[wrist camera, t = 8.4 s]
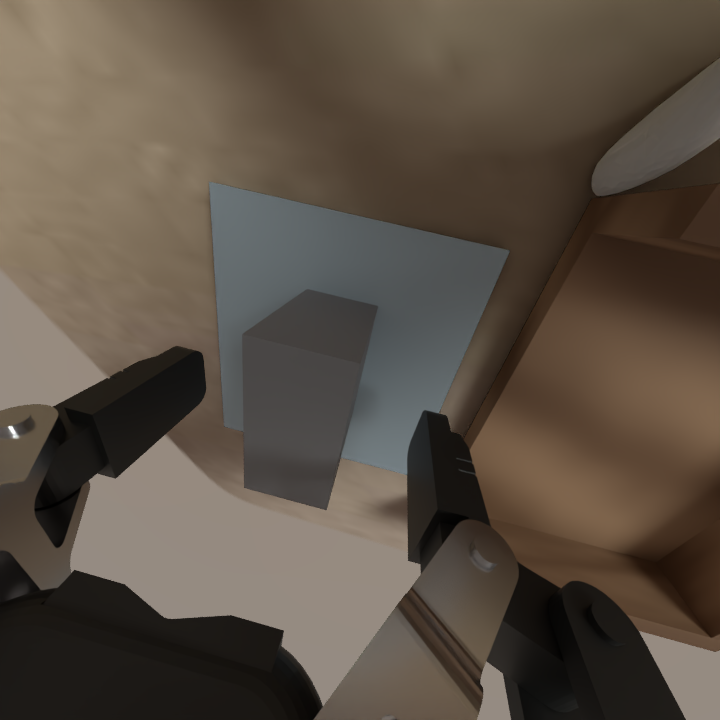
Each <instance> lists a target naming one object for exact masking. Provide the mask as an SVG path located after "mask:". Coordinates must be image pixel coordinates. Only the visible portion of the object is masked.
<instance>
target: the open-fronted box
mask: <svg viewBox="0 0 720 720" xmlns="http://www.w3.org/2000/svg"><path fill="white" fill-rule="evenodd" d="M463 440H464V442H465V443H466V444H467V446H468V447H469V450H470V454H471V457H472V461H473V462H472V464H474V468H475V472H476V476H477V479H478V482H479V486H480V489H481V493H482V496H483V500H484V503H485V507H486V510H487V514H488V518H489V521H490V524H491V527H492V528H493V529H494V530H495V531H497V532H498V533H499V534H500V535H501V536H502V537H503V539H504V540H505V541H506V542H507V544H508V545H509V546H510V548H511V550H512V551H513V553H514V556H515V558H516V560H517V561H518V562H519V563H520V564H522V565H523V566H525V567H526V568H528V569H530V570H531V571H533V572H535V573H536V574H538V575H540V576H541V577H543V578H545V579H546V580H548V581H550V582H551V583H553V584H555V585H556V586H558V587H560V588H562V587H563V586H564V585H566V584H567V583H568V582H570V581H582V582H585V583H588V584H590V585H592V586H594V587H596V588H597V589H599V590H600V591H602V592H603V593H605V594H606V595H607V596H608V597H609V598H611V599H612V600H613V601H614V602H615V603H616V604H617V605H618V606H619V607H620V608H621V609H622V610H623V611H624V612H625V613H626V615H627V616H628V617H629V618H630V620H631V621H632V622H633V624H634V625H635V627H636V628H637V630H638V631H642V632H646V633H649V634H653V635H657V636H660V637H664V638H667V639H671V640H675V641H678V642H682V643H685V644H689V645H692V646H696V647H700V648H703V649H707V650H711V651H714V652H716V651H719V650H720V183H717V184H709V185H701V186H692V187H684V188H675V189H667V190H658V191H650V192H641V193H633V194H624V195H616V196H608V197H599V198H592V199H591V201H590V203H589V205H588V207H587V209H586V211H585V213H584V214H583V216H582V218H581V220H580V222H579V224H578V226H577V228H576V229H575V231H574V233H573V235H572V237H571V239H570V241H569V243H568V244H567V246H566V248H565V250H564V252H563V254H562V256H561V258H560V259H559V261H558V263H557V265H556V267H555V269H554V271H553V273H552V274H551V276H550V278H549V280H548V282H547V284H546V286H545V288H544V289H543V291H542V293H541V295H540V297H539V299H538V301H537V303H536V304H535V306H534V308H533V310H532V312H531V314H530V316H529V318H528V319H527V321H526V323H525V325H524V327H523V329H522V331H521V333H520V334H519V336H518V338H517V340H516V342H515V344H514V346H513V348H512V349H511V351H510V353H509V355H508V357H507V359H506V361H505V363H504V364H503V366H502V368H501V370H500V372H499V374H498V376H497V378H496V379H495V381H494V383H493V385H492V387H491V389H490V391H489V393H488V394H487V396H486V398H485V400H484V402H483V404H482V406H481V408H480V409H479V411H478V413H477V415H476V417H475V419H474V421H473V423H472V424H471V426H470V428H469V430H468V432H467V434H466V436H465V438H464V439H463Z"/></svg>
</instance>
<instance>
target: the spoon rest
mask: <svg viewBox="0 0 720 720" xmlns="http://www.w3.org/2000/svg"><path fill="white" fill-rule="evenodd" d="M719 138H720V58H719V59H717V60H716V61H715V62H713V63H712V64H711V65H710V66H708V67H707V68H706V69H704V70H703V71H702V72H701V73H699V74H698V75H697V76H696V77H694V78H693V79H692V80H691V81H689V82H688V83H687V84H686V85H684V86H683V87H682V88H681V89H679V90H678V91H677V92H676V93H674V94H673V95H672V96H671V97H669V98H668V99H667V100H665V101H664V102H663V103H662V104H660V105H659V106H658V107H657V108H655V109H654V110H653V111H652V112H651V113H649V114H648V115H647V116H646V117H645V118H644V119H642V120H641V121H640V122H639V123H638V124H637V125H636V126H634V127H633V128H632V129H631V130H630V131H629V132H627V133H626V134H625V135H624V136H623V137H622V138H621V139H619V140H618V141H617V142H616V143H615V144H614V145H613V146H612V147H611V148H610V149H609V150H608V152H607V153H606V154H605V155H604V156H603V157H602V158H601V160H600V161H599V162H598V163H597V165H596V168H595V170H594V173H593V175H592V183H591V185H592V191H593V192H594V193H595V194H596V196H607V195H611V194H615V193H619V192H622V191H626V190H629V189H632V188H634V187H637V186H639V185H641V184H644V183H646V182H648V181H651V180H653V179H655V178H657V177H659V176H661V175H663V174H665V173H667V172H669V171H671V170H673V169H675V168H677V167H678V166H680V165H681V164H683V163H684V162H686V161H687V160H689V159H691V158H692V157H693V156H695V155H696V154H698V153H699V152H701V151H702V150H704V149H705V148H707V147H708V146H710V145H711V144H712V143H714V142H715V141H717V140H718V139H719Z"/></svg>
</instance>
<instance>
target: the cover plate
mask: <svg viewBox="0 0 720 720" xmlns="http://www.w3.org/2000/svg"><path fill="white" fill-rule="evenodd" d="M209 189H210V206H211V222H212V238H213V254H214V270H215V287H216V303H217V319H218V335H219V352H220V368H221V384H222V400H223V417H224V427H227V428H231V429H235V430H238V431H242V432H244V488H247V489H250V490H254V491H258V492H261V493H265V494H269V495H273V496H276V497H280V498H284V499H287V500H291V501H295V502H298V503H302V504H306V505H309V506H313V507H317V508H320V509H324V510H327V507H328V503H329V499H330V495H331V492H332V488H333V484H334V481H335V477H336V473H337V470H338V466H339V462H340V459H341V458H345V459H348V460H352V461H356V462H360V463H363V464H367V465H371V466H375V467H379V468H382V469H386V470H390V471H394V472H398V473H401V474H405V475H407V455H408V449H409V445H410V441H411V439H412V436H413V434H414V431H415V429H416V426H417V424H418V422H419V419H420V417H421V414H422V412H423V411H424V410H427V411H431V412H435V413H439V411H440V409H441V407H442V405H443V402H444V400H445V398H446V395H447V393H448V391H449V389H450V386H451V384H452V382H453V380H454V377H455V375H456V373H457V370H458V368H459V366H460V364H461V361H462V359H463V357H464V355H465V352H466V350H467V348H468V345H469V343H470V341H471V339H472V336H473V334H474V332H475V329H476V327H477V325H478V323H479V320H480V318H481V316H482V314H483V311H484V309H485V307H486V304H487V302H488V300H489V298H490V295H491V293H492V291H493V289H494V286H495V284H496V282H497V279H498V277H499V275H500V273H501V270H502V268H503V266H504V264H505V261H506V259H507V257H508V254H509V252H510V250H506V249H502V248H497V247H493V246H489V245H484V244H480V243H476V242H471V241H467V240H463V239H458V238H454V237H449V236H445V235H441V234H436V233H432V232H428V231H423V230H419V229H415V228H410V227H406V226H401V225H397V224H393V223H388V222H384V221H380V220H375V219H371V218H366V217H362V216H358V215H353V214H349V213H345V212H340V211H336V210H332V209H327V208H323V207H318V206H314V205H310V204H305V203H301V202H297V201H292V200H288V199H283V198H279V197H275V196H270V195H266V194H262V193H257V192H253V191H249V190H244V189H240V188H235V187H231V186H227V185H222V184H218V183H213V182H209Z"/></svg>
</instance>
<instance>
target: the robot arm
mask: <svg viewBox="0 0 720 720" xmlns="http://www.w3.org/2000/svg"><path fill="white" fill-rule="evenodd" d="M205 392H206V381H205V370H204V360H203V355H202V353H201V352H199V351H195V350H191V349H187V348H183V347H179V346H176V347H173V348H171V349H169V350H167V351H165V352H164V353H162V354H160V355H158V356H155V357H152V358H148V359H145V360H142V361H139V362H137V363H135V364H133V365H131V366H129V367H127V368H125V369H123V372H122V371H120V372H118V373H116V374H114V375H112V376H110V379H108V378H106V379H105V380H103V381H101V382H99V383H97V384H95V385H93V386H92V387H89V388H88V389H86V390H84V391H82V392H80V393H78V394H76V395H74V396H73V397H71V398H69V399H67V400H65V401H63V402H61V403H59V404H57V405H56V406H53V407H51V406H48V405H41V404H33V405H23V406H17V407H13V408H8V409H5V410H2V411H0V720H477V717H478V715H479V711H480V708H481V704H482V699H483V687H482V686H481V684H480V679H481V674H482V671H483V668H484V666H485V663H486V661H487V662H488V663H490V664H491V665H492V666H494V667H495V668H496V669H498V670H499V671H500V672H502V673H503V676H504V682H505V687H506V693H507V698H508V704H509V710H510V715H511V720H686V719H685V717H684V715H683V713H682V711H681V710H680V708H679V706H678V704H677V702H676V700H675V698H674V696H673V694H672V693H671V691H670V689H669V687H668V685H667V683H666V681H665V680H664V678H663V676H662V674H661V672H660V670H659V668H658V666H657V664H656V662H655V661H654V659H653V657H652V655H651V653H650V651H649V649H648V647H647V646H646V644H645V642H644V640H643V638H642V637H641V635H640V633H639V631H638V630H637V628H636V627H635V625H634V624H633V622H632V621H631V620H630V618H629V617H628V616H627V615H626V613H625V612H624V611H623V610H622V609H621V608H620V607H619V606H618V605H617V604H616V603H615V602H614V601H613V600H612V599H611V598H609V597H608V596H607V595H606V594H605V593H603V592H602V591H600V590H599V589H597V588H596V587H594V586H592V585H590V584H588V583H585V582H582V581H570V582H568V583H567V584H566V585H564V586H563V587H562V588H560V587H558V586H556V585H555V584H553V583H551V582H550V581H548V580H546V579H545V578H543V577H541V576H540V575H538V574H536V573H535V572H533V571H531V570H530V569H528V568H526V567H525V566H523V565H522V564H520V563H519V562H518V561H517V560H516V558H515V556H514V553H513V551H512V550H511V548H510V546H509V545H508V544H507V542H506V541H505V540H504V539H503V537H502V536H501V535H500V534H499V533H498V532H497V531H495V530H494V529H493V528H492V527H491V524H490V521H489V518H488V514H487V510H486V507H485V503H484V500H483V496H482V493H481V489H480V486H479V482H478V479H477V476H476V472H475V468H474V464H472V462H473V461H472V457H471V454H470V450H469V447H468V446H467V444H466V443H465V442H464V440H463V439H462V437H461V436H460V435H459V434H457V433H453V432H451V431H450V426H449V422H448V418H447V416H446V415H443V414H439V413H435V412H431V411H427V410H424V411H423V412H422V414H421V417H420V419H419V422H418V424H417V426H416V429H415V431H414V434H413V436H412V439H411V441H410V445H409V449H408V455H407V497H408V561H411V562H415V563H418V564H421V575H420V576H419V578H418V579H417V580H416V582H415V583H414V585H413V586H412V587H411V589H410V590H409V591H408V593H407V594H405V596H404V597H403V598H402V600H401V601H400V602H399V603H398V605H397V606H396V607H395V609H394V610H393V611H392V613H391V614H390V616H389V617H388V618H387V620H386V621H385V622H384V624H383V625H382V627H381V628H380V629H379V631H378V632H377V633H376V635H375V636H374V637H373V639H372V640H371V642H370V643H369V645H368V646H367V647H366V648H365V650H364V651H363V653H362V654H361V655H360V657H359V658H358V659H357V661H356V662H355V664H354V665H353V667H352V668H351V669H350V670H349V672H348V673H347V675H346V676H345V677H344V679H343V680H342V681H341V683H340V684H339V685H338V687H337V688H336V690H335V691H334V692H333V694H332V695H331V697H330V698H329V699H328V701H327V702H326V703H325V705H324V706H322V703H321V700H320V697H319V695H318V693H317V691H316V689H315V687H314V685H313V683H312V681H311V679H310V678H309V676H308V675H307V673H306V672H305V670H304V668H303V667H302V666H301V664H300V663H299V662H298V661H297V660H296V659H295V658H294V657H293V655H291V654H290V653H289V652H288V651H287V650H285V649H284V648H283V647H282V646H281V645H282V638H283V632H284V631H283V630H280V629H276V628H273V627H269V626H266V625H262V624H259V623H256V622H252V621H249V620H245V619H242V618H238V617H235V616H231V615H230V616H215V617H198V618H183V619H167V618H164V617H163V616H161V615H160V614H159V613H158V612H156V611H155V610H154V609H153V608H152V607H151V606H149V605H148V604H147V603H146V602H145V601H143V600H142V599H141V598H140V597H139V596H138V595H136V594H135V593H134V592H133V591H132V590H131V589H129V588H128V587H127V586H126V585H125V584H121V583H117V582H114V581H111V580H107V579H103V578H100V577H97V576H94V575H90V574H87V573H83V572H80V571H76V570H74V571H73V572H72V573H71V569H70V556H71V551H72V548H73V544H74V541H75V538H76V534H77V531H78V527H79V524H80V521H81V517H82V514H83V511H84V507H85V504H86V501H87V497H88V494H89V490H90V483H89V481H88V480H89V479H91V478H92V477H93V476H94V475H96V474H97V473H98V474H101V475H105V476H108V477H112V478H117V477H118V476H119V475H120V474H121V473H122V472H123V471H125V470H126V469H127V468H128V467H129V466H130V465H131V464H132V463H134V462H135V461H136V460H137V459H138V458H139V457H140V456H141V455H143V454H144V453H145V452H146V451H147V450H148V449H149V448H150V447H152V446H153V445H154V444H155V443H156V442H157V441H158V440H159V439H161V438H162V437H163V436H164V435H165V434H166V433H167V432H168V431H169V430H171V429H172V428H173V427H174V426H175V425H176V424H177V423H178V422H180V421H181V420H182V419H183V418H184V417H185V416H186V415H187V414H189V413H190V412H191V411H192V410H193V409H194V408H195V407H196V406H197V405H199V404H200V402H201V401H202V399H203V398H204V395H205Z"/></svg>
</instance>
